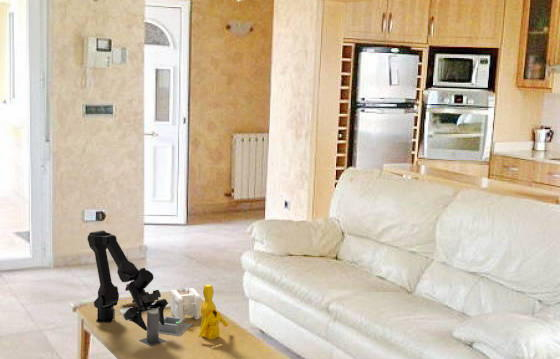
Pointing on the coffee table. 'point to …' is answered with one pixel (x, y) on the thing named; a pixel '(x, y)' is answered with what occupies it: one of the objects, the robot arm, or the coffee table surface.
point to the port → (173, 326)
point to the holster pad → (152, 343)
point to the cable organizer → (185, 304)
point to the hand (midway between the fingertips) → (155, 327)
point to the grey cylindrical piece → (153, 326)
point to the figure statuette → (210, 316)
